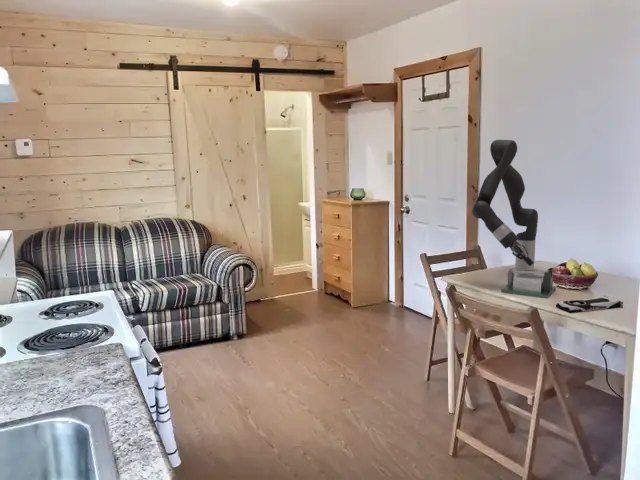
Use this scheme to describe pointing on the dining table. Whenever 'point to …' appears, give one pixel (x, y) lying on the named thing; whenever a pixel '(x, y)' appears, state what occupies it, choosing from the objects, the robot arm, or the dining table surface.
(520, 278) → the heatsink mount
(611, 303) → the graphics card
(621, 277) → the dining table surface
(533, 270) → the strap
